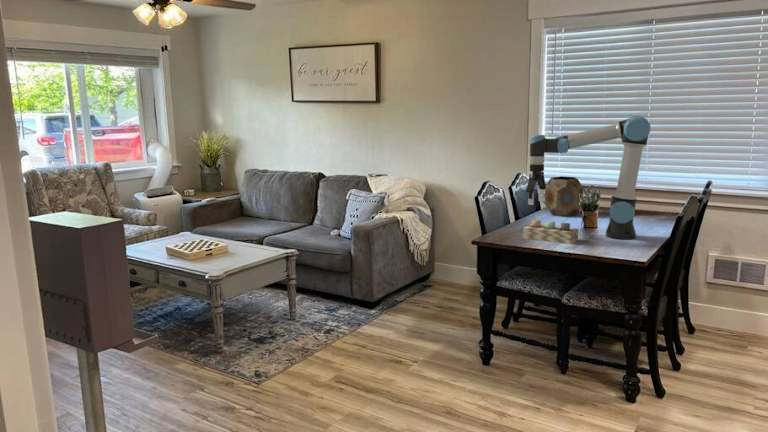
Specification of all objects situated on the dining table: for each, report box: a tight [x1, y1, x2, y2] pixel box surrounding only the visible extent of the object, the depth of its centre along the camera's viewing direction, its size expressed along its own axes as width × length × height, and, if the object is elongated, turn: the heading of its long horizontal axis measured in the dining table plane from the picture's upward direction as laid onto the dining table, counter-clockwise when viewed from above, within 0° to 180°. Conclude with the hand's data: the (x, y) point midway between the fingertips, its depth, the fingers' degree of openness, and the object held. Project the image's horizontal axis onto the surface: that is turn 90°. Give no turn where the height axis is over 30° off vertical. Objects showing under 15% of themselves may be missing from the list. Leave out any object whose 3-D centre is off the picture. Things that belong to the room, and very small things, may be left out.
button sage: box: [545, 220, 556, 230], centre depth 308 cm, size 5×5×4 cm
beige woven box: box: [522, 223, 579, 245], centre depth 309 cm, size 26×12×6 cm, turn 53°
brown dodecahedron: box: [543, 176, 584, 217], centre depth 376 cm, size 22×24×24 cm
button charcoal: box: [560, 222, 571, 231], centre depth 304 cm, size 5×5×4 cm
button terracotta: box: [531, 219, 542, 228], centre depth 313 cm, size 5×5×4 cm
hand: (535, 202), depth 312 cm, fingers open, 13 cm apart
